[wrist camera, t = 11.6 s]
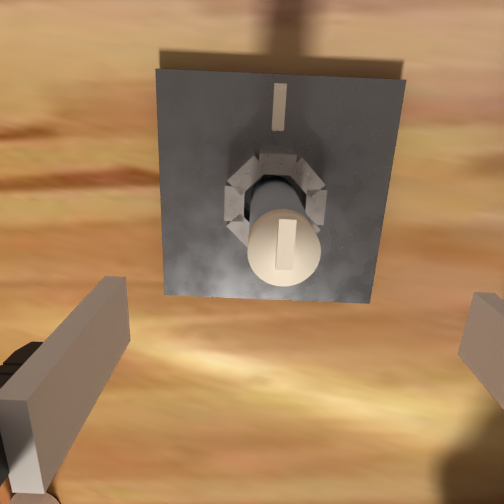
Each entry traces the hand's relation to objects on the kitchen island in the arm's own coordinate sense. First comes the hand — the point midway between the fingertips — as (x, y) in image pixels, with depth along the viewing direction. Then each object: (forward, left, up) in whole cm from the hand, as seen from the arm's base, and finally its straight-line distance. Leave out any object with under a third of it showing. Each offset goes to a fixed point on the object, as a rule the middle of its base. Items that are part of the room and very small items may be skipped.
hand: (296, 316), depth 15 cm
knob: (0, 0, -21) cm, 21 cm away
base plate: (0, 0, -22) cm, 22 cm away
